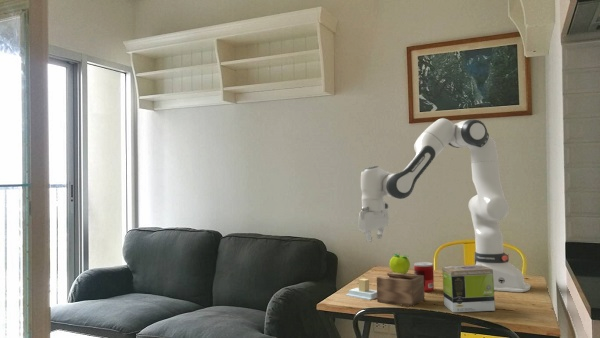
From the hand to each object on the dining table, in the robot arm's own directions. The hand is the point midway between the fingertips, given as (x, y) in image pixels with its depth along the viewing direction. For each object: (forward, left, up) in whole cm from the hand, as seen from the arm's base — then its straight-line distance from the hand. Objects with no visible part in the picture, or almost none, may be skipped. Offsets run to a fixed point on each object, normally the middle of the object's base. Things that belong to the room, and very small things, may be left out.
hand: (374, 240), depth 199 cm
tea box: (-38, +3, -22) cm, 44 cm away
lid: (+3, +5, -22) cm, 23 cm away
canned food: (-14, -16, -22) cm, 31 cm away
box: (-13, +5, -22) cm, 26 cm away
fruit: (+8, -40, -22) cm, 46 cm away
